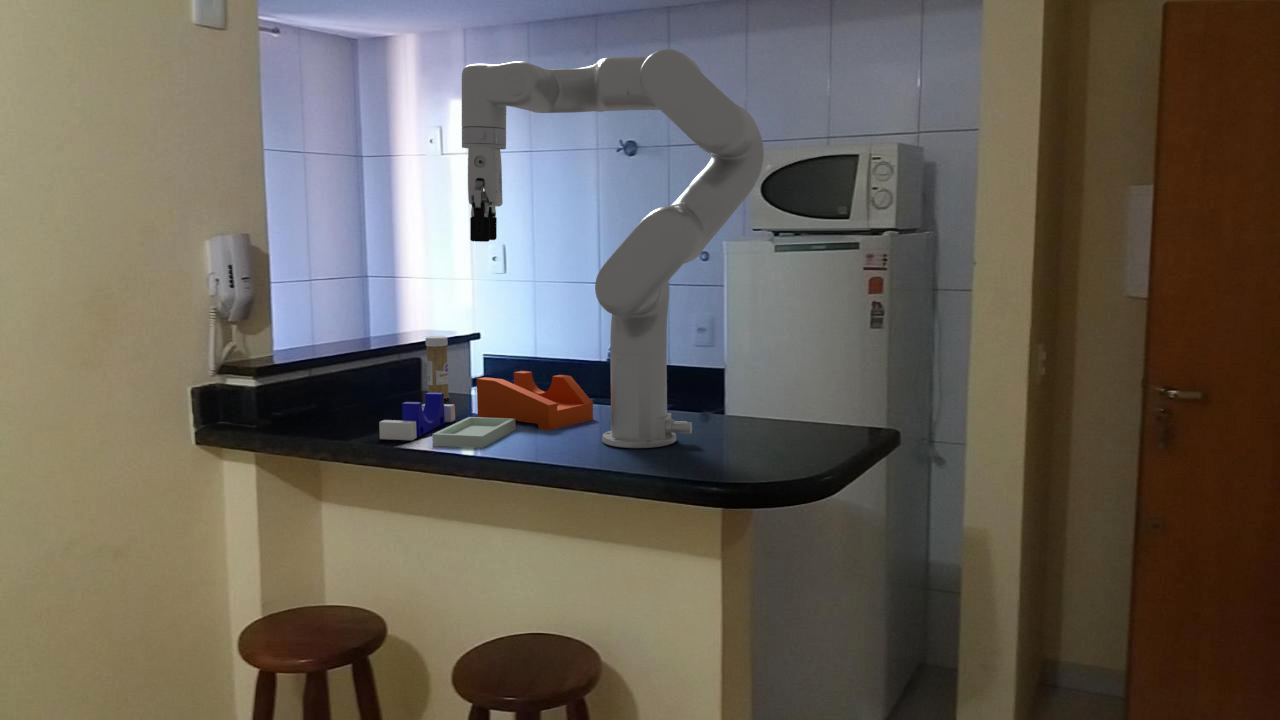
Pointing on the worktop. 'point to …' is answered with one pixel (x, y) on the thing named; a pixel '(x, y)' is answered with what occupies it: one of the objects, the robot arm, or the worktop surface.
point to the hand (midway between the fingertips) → (483, 240)
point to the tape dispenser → (534, 401)
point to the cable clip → (425, 413)
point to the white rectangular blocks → (409, 426)
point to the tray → (474, 432)
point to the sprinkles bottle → (437, 365)
